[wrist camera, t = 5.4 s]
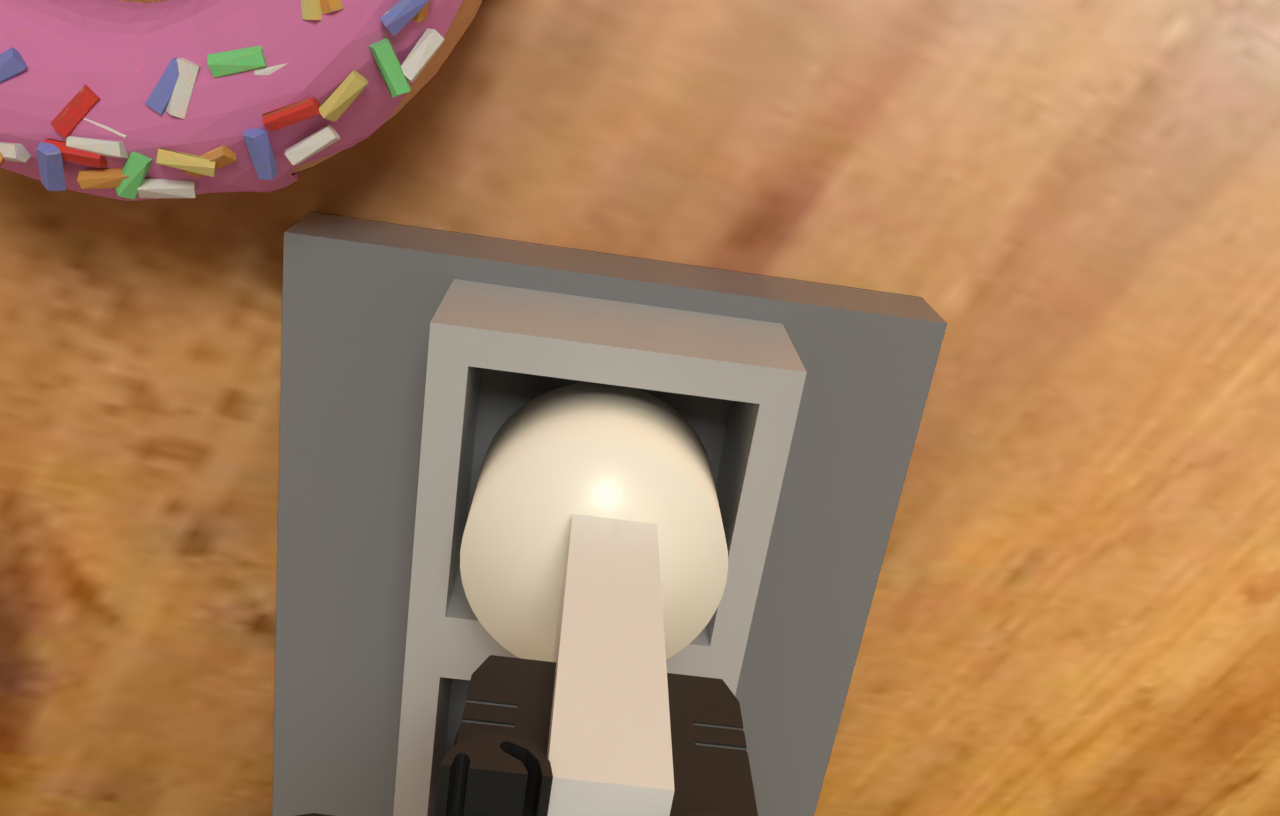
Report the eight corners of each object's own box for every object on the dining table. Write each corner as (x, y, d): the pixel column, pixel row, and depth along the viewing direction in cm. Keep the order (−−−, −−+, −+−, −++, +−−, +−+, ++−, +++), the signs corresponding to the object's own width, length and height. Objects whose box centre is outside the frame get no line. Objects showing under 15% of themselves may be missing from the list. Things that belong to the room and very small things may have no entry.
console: (310, 212, 23) (234, 269, 18) (921, 297, 24) (994, 371, 19) (289, 934, 31) (232, 1100, 27) (746, 974, 32) (768, 1140, 28)
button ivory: (491, 367, 20) (471, 428, 18) (732, 398, 21) (750, 463, 18) (470, 578, 22) (449, 663, 19) (692, 603, 22) (703, 690, 20)
